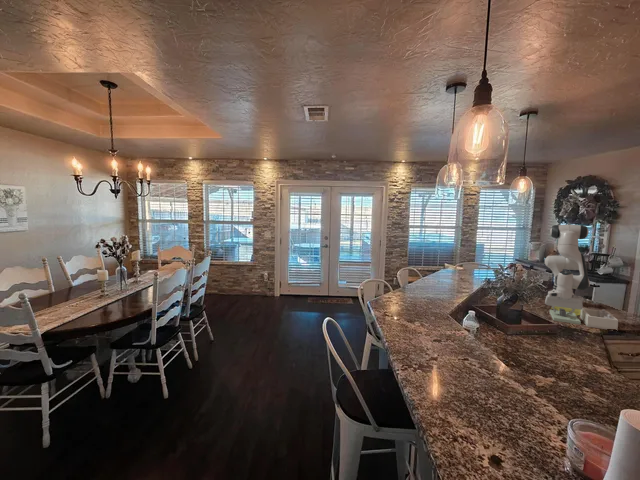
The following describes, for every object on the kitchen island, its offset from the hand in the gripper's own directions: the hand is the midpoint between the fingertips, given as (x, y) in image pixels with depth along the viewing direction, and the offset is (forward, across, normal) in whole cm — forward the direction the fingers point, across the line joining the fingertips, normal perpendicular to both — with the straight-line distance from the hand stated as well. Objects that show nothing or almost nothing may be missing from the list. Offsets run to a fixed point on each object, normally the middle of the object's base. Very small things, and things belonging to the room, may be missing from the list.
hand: (562, 313), depth 202 cm
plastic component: (+4, -4, -18) cm, 19 cm away
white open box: (+3, -18, +2) cm, 18 cm away
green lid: (+3, -1, 0) cm, 3 cm away
